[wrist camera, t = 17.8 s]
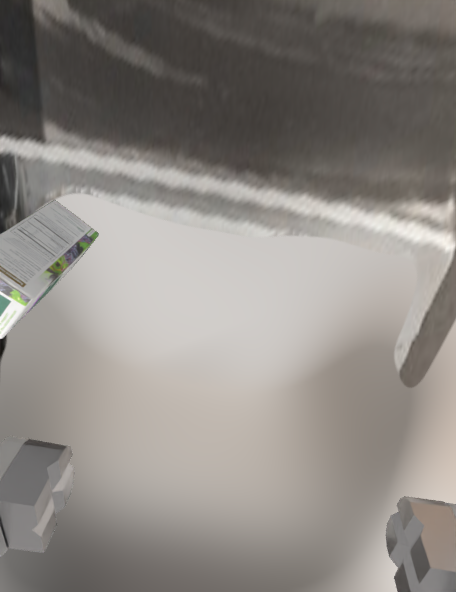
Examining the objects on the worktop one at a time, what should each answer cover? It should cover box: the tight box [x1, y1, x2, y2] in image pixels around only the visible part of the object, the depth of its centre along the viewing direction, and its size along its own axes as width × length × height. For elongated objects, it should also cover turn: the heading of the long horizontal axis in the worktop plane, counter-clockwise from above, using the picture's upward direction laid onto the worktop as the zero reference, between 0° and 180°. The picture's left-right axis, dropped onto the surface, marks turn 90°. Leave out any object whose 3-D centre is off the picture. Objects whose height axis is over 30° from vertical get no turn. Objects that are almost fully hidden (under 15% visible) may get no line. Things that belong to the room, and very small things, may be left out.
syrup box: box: [0, 200, 99, 339], centre depth 39 cm, size 6×6×14 cm
